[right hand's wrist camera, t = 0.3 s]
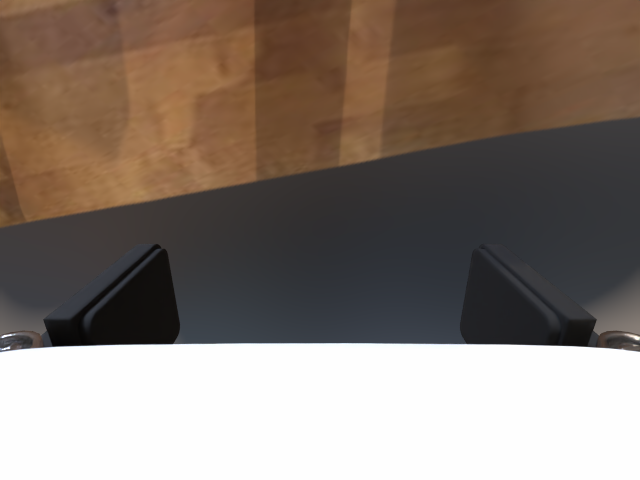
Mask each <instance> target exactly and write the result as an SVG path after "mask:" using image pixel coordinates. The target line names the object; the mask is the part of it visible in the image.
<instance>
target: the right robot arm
mask: <svg viewBox="0 0 640 480" xmlns="http://www.w3.org/2000/svg"><path fill="white" fill-rule="evenodd" d="M44 323H45V326H46V329H47V331H46V332H45V333H44V334H43V335H41V336H40V334H39V333H36V332H33V331H18V332H11V333H7V334H3V335H0V480H640V335H637V334H633V333H629V332H622V331H607V332H604V333H602V334H600V336H599V335H597V334H596V333H595V332H594V331H593V329H594V326H595V323H596V319H595V318H594V317H593V316H592V315H590V314H589V313H588V312H587V311H585V310H584V309H583V308H582V307H580V306H579V305H578V304H577V303H575V302H574V301H573V300H572V299H570V298H569V297H568V296H567V295H565V294H564V293H563V292H561V291H560V290H559V289H558V288H556V287H555V286H554V285H553V284H552V283H550V282H549V281H548V280H547V279H545V278H544V277H543V276H541V275H540V274H539V273H538V272H536V271H535V270H534V269H533V268H531V267H530V266H529V265H528V264H526V263H525V262H524V261H523V260H521V259H520V258H519V257H518V256H516V255H515V254H514V253H513V252H511V251H510V250H509V249H508V248H506V247H505V246H504V245H502V244H482V245H481V246H480V247H479V249H475V250H474V251H473V254H472V259H471V265H470V271H469V276H468V282H467V288H466V293H465V299H464V305H463V310H462V316H461V322H460V330H461V334H462V337H463V338H464V340H465V341H466V343H467V344H173V343H174V342H175V340H176V338H177V336H178V334H179V330H180V322H179V317H178V310H177V305H176V299H175V293H174V288H173V282H172V276H171V270H170V265H169V259H168V254H167V251H166V250H165V249H161V247H160V246H159V245H158V244H138V245H136V246H135V247H134V248H132V249H131V250H130V251H129V252H127V253H126V254H125V255H124V256H122V257H121V258H120V259H119V260H117V261H116V262H115V263H114V264H112V265H111V266H110V267H109V268H107V269H106V270H105V271H104V272H102V273H101V274H100V275H99V276H97V277H96V278H95V279H93V280H92V281H91V282H90V283H89V284H87V285H86V286H85V287H83V288H82V289H81V290H80V291H78V292H77V293H76V294H75V295H73V296H72V297H71V298H70V299H68V300H67V301H66V302H65V303H63V304H62V305H61V306H60V307H58V308H57V309H56V310H55V311H53V312H52V313H51V314H50V315H48V316H47V317H46V318H45V319H44Z"/></svg>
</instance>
